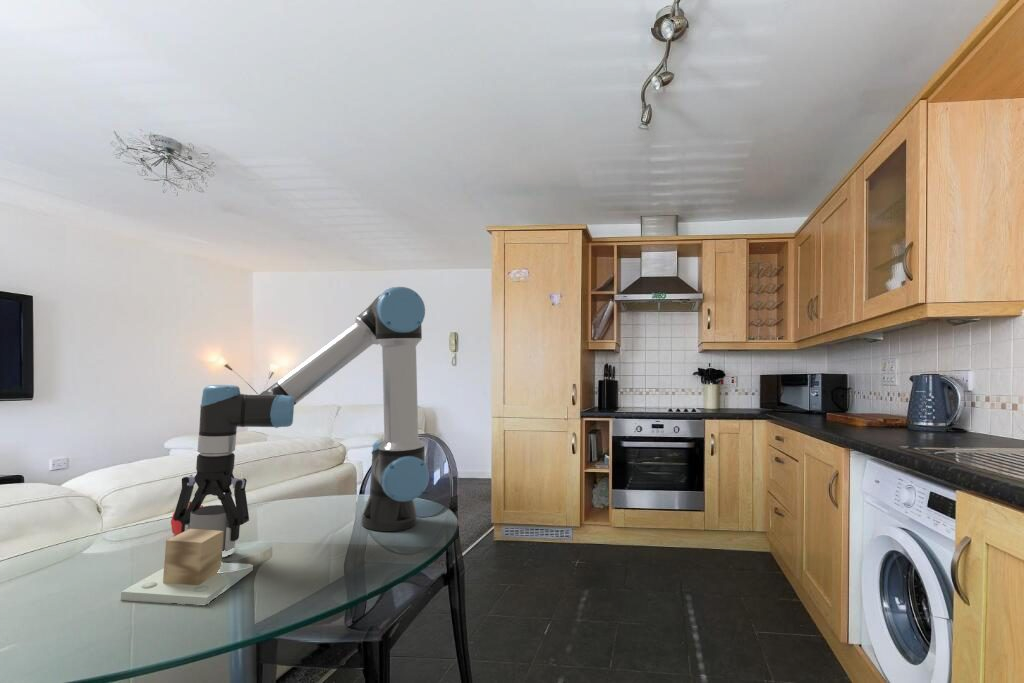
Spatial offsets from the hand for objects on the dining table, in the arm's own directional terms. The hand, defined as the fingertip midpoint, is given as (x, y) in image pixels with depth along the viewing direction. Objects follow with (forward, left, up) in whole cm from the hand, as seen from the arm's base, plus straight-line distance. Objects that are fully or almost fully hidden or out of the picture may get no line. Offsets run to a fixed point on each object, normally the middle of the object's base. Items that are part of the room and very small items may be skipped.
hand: (208, 553), depth 118 cm
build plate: (-6, +15, 0) cm, 16 cm away
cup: (0, 0, -1) cm, 1 cm away
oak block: (-6, +15, +1) cm, 16 cm away
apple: (+13, -12, -1) cm, 18 cm away
